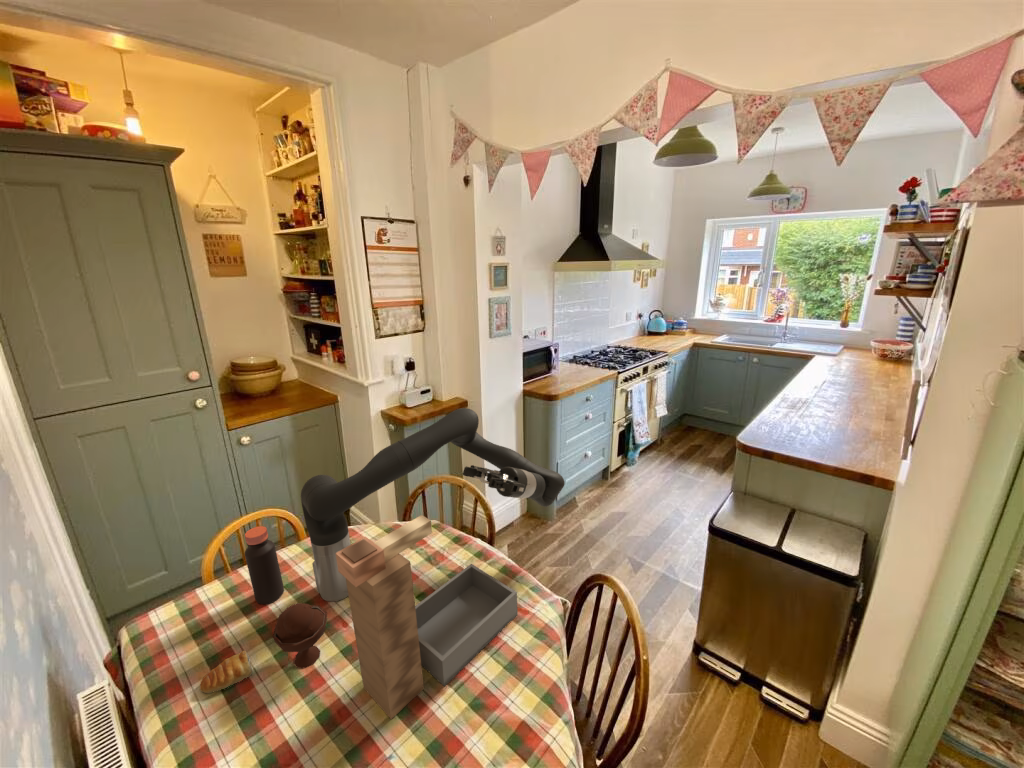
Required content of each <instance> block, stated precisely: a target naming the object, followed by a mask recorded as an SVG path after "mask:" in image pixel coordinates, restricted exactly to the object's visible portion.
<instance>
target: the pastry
mask: <svg viewBox="0 0 1024 768" xmlns="http://www.w3.org/2000/svg"><path fill="white" fill-rule="evenodd" d="M252 674H253V667H252V665H251V658H250V655H249V654H248V652H247V651H246V650H241V652H240V653H237V654H234V655H231V656H230V657H227V658H225V659H223V661H221V662H220V663H219V664H218V665H217V666H216V667H214V668H213V669H211V670H210V671H209V672H207V673H206V675H205V676H204V677H202V679H201V681H200V684H199V685H200V686H199V691H201V692H202V693H204V694H211V693H210V692H212V693H214V692H213V691H215V692H218V691H217V690H219V691H221V690H220V689H223V688H226V687H228V686H230V685H232V684H234V683H237V682H239V681H241V680H243V679H244V678H246V679H248V678H249V677H250V676H251V675H252ZM247 677H248V678H247ZM243 681H244V680H243ZM241 682H242V681H241ZM239 683H240V682H239ZM237 684H238V683H237ZM230 687H231V686H230ZM228 688H229V687H228Z"/></svg>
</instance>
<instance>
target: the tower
mask: <svg viewBox="0 0 1024 768" xmlns="http://www.w3.org/2000/svg"><path fill="white" fill-rule="evenodd" d="M385 565H386V569H384V570H382V571H381V572H379V573H378V574H376V575H375V576H373V577H371V578H370V579H368V580H367V581H365V582H364V583H362V584H360V585H359V586H357V587H355V586H354V585H353V584H352V583H351V582H350V581H348V580H347V579H346V583H347V589H348V595H349V596H348V601H349V602H348V603H349V607H350V613H351V619H352V625H353V626H352V627H353V632H354V637H355V643H356V648H357V649H356V650H357V655H358V656H357V657H358V660H359V661H358V662H359V668H360V674H361V675H360V676H361V679H362V684H363V685H362V687H363V689H364V690H365V691H366V693H368V695H369V696H370V697H371V698H372V699H373V700H374V701H375V703H376V704H377V705H378V706H379V707H380V708H381V710H382V711H383V712H384V713H385V714H386V715H387V717H389V719H390V720H392V719H394V717H395V716H396V715H398V714H399V713H400V712H401V711H402V710H403V709H404V708H405V707H406V706H407V705H409V703H411V702H412V700H414V699H415V698H416V697H417V696H418V695H419V694H420V693H421V692H422V691H423V690H424V689H425V687H424V679H423V678H424V677H423V668H422V667H423V666H422V665H421V657H420V648H419V638H418V629H417V620H416V610H415V606H416V604H415V603H416V602H415V591H414V586H413V585H414V584H413V583H414V582H413V575H412V566H411V561H410V560H409V559H408V558H407V557H405V556H403V555H402V554H401V553H399V554H398V555H396V556H394V557H393V558H391V559H390V560H388V561H386V562H385Z"/></svg>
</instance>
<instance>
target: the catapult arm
mask: <svg viewBox="0 0 1024 768" xmlns="http://www.w3.org/2000/svg"><path fill="white" fill-rule="evenodd" d="M432 533H433V530H432V520H431V519H429V518H427V517H426V516H424V515H422V514H421V515H419V516H417V517H416V518H414V519H412V520H411V521H409V522H407V523H405V524H403V525H402V526H400V527H398V528H396V529H395V530H393V531H391V532H389V533H388V534H386V535H384V536H382V537H380V538H379V539H377V540H376V541H374V542H373V540H371V539H370V538H368V537H367V536H364V537H362V538H360V539H359V540H356V541H355V542H353V543H352V544H351V543H350V544H351V545H349V546H348V547H346V548H344V549H342V550H340V551H338V552H337V553H335V554H336V560H337V566H338V572H339V573H341V574H342V575H343V576H344V577H345V578H346V579H347V580H348V581H350V582H351V583H352V584H353V585H354V586H355V587H357V586H359V585H360V584H362V583H364V582H365V581H367V580H368V579H370V578H371V577H373V576H375V575H376V574H378V573H379V572H381V571H382V570H384V569H386V565H385V562H386V561H388V560H390V559H391V558H393V557H394V556H396V555H398V554H401V553H403V552H404V551H405V550H407V549H409V548H411V547H412V546H413V545H415V544H417V543H418V542H420V541H422V540H423V539H424V538H427V537H428V536H429V535H432Z"/></svg>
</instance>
